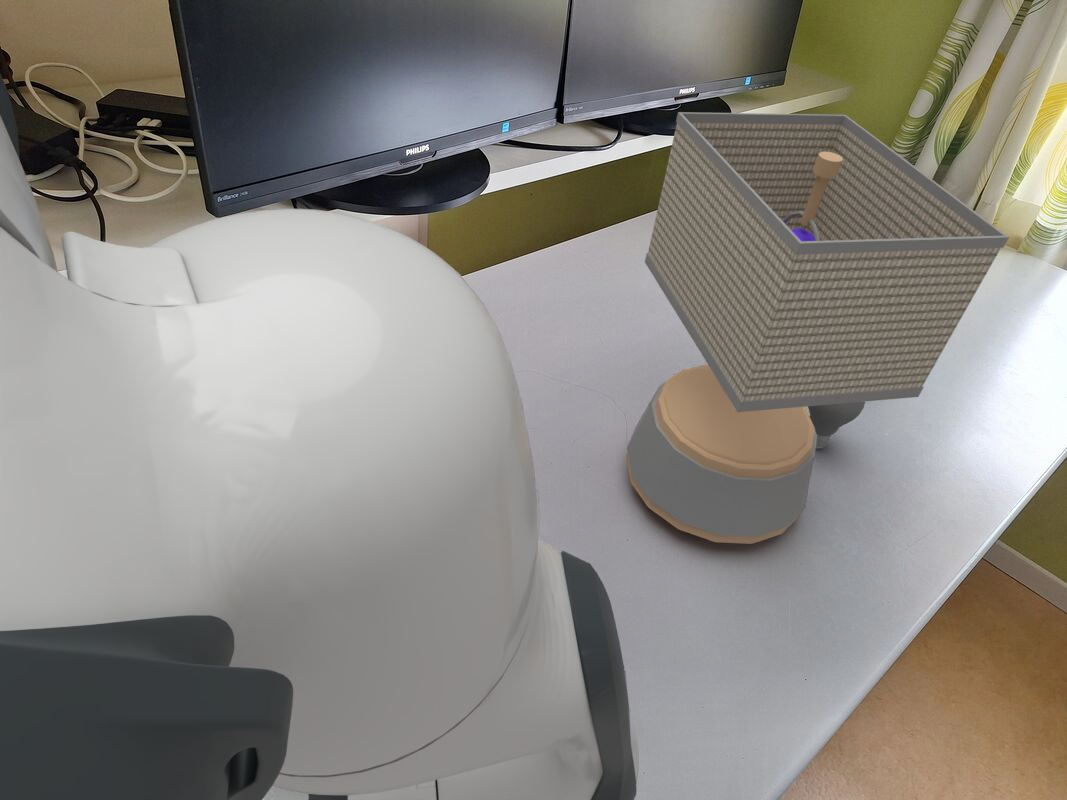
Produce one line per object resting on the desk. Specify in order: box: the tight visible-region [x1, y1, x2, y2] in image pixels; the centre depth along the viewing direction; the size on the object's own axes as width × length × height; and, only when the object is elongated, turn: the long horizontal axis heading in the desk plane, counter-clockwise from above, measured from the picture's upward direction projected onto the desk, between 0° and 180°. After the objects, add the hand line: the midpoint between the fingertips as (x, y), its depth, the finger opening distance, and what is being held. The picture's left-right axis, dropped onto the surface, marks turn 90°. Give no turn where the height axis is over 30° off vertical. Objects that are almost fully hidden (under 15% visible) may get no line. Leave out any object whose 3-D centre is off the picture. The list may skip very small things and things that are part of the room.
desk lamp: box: [625, 111, 1010, 545], centre depth 69 cm, size 22×19×37 cm
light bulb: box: [807, 401, 866, 449], centre depth 85 cm, size 6×6×10 cm
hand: (396, 431), depth 57 cm, fingers open, 8 cm apart
